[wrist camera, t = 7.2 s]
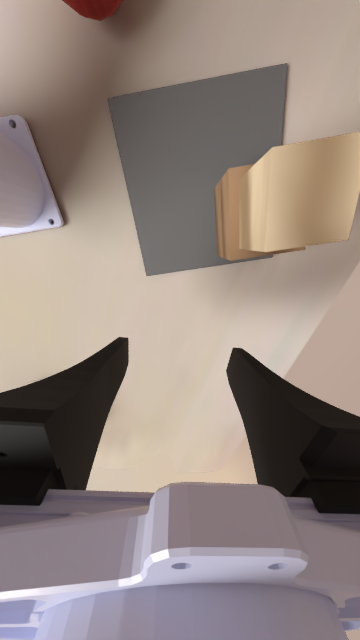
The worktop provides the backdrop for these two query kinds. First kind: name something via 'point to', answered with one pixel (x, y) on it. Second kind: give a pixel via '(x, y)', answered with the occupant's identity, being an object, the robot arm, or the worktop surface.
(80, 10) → the red round fruit
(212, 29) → the worktop surface
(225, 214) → the tower top
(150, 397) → the worktop surface
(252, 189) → the cube
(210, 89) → the mat
